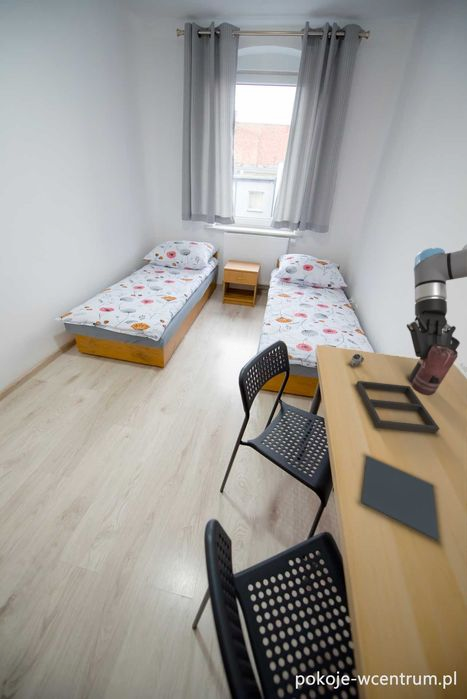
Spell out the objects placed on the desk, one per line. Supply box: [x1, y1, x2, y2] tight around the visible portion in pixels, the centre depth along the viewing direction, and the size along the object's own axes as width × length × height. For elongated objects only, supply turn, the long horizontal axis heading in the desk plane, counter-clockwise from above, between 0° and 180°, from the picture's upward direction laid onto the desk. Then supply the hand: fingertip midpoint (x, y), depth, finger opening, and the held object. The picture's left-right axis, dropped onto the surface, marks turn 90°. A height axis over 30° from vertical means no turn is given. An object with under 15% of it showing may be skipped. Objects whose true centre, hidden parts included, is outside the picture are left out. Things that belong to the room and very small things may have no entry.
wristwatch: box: [349, 353, 365, 367], centre depth 109 cm, size 4×6×5 cm, turn 118°
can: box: [410, 344, 459, 396], centre depth 77 cm, size 6×6×14 cm
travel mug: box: [408, 336, 461, 384], centre depth 100 cm, size 8×8×20 cm
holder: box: [355, 380, 441, 435], centre depth 92 cm, size 19×19×2 cm
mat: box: [361, 455, 439, 542], centre depth 68 cm, size 16×14×1 cm
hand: (432, 383), depth 76 cm, fingers closed
